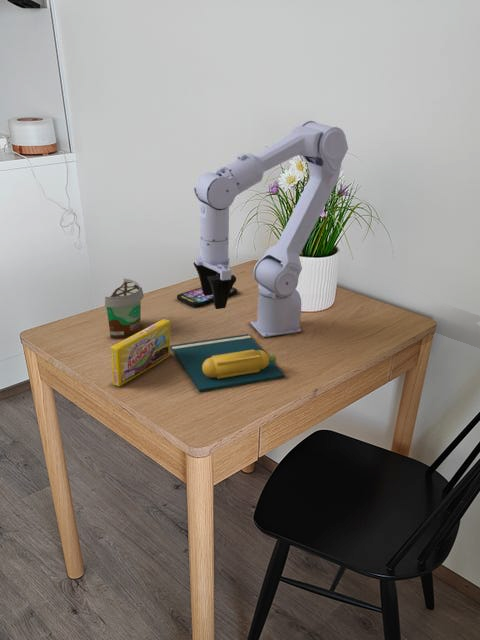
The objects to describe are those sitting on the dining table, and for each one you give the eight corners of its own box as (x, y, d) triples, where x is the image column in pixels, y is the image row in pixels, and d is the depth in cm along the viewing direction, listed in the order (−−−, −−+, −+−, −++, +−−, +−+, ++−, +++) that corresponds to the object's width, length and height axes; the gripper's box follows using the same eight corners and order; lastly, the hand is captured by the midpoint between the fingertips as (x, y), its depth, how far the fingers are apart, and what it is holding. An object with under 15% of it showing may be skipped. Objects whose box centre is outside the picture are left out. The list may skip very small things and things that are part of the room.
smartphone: (239, 289, 163) (195, 304, 154) (239, 293, 163) (195, 308, 154) (218, 281, 167) (174, 295, 158) (218, 284, 168) (174, 298, 159)
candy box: (120, 388, 121) (117, 349, 117) (112, 385, 122) (108, 346, 118) (171, 356, 133) (170, 320, 128) (163, 353, 134) (162, 317, 129)
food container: (135, 343, 138) (131, 300, 132) (108, 340, 138) (104, 297, 133) (152, 321, 148) (150, 280, 142) (127, 318, 149) (124, 277, 143)
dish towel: (247, 336, 142) (247, 333, 142) (284, 377, 127) (285, 374, 126) (170, 347, 136) (170, 344, 136) (199, 392, 121) (199, 389, 121)
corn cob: (199, 373, 126) (199, 355, 124) (270, 362, 131) (271, 344, 129) (206, 382, 123) (205, 364, 121) (278, 370, 128) (279, 352, 126)
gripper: (184, 228, 131) (186, 291, 139) (207, 250, 120) (207, 316, 128) (216, 226, 133) (216, 287, 141) (241, 247, 122) (239, 312, 130)
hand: (214, 301), depth 134 cm, fingers open, 7 cm apart
